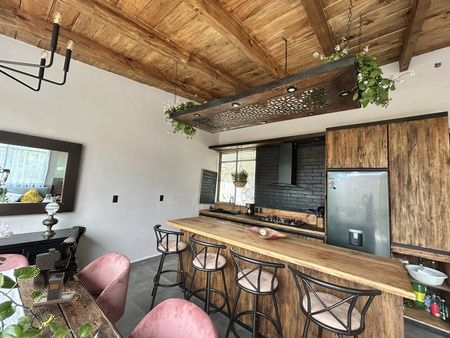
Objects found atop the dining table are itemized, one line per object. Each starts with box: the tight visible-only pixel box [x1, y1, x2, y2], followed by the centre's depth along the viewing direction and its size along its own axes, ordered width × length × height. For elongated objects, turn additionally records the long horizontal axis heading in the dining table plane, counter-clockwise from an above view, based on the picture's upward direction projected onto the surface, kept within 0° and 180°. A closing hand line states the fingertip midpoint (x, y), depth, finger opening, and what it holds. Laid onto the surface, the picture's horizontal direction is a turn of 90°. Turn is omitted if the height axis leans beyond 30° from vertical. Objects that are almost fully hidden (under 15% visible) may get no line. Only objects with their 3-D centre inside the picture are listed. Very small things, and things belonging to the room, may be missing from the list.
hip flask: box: [32, 248, 64, 284], centre depth 142 cm, size 16×4×20 cm, turn 137°
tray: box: [33, 290, 76, 307], centre depth 118 cm, size 9×17×2 cm, turn 113°
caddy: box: [46, 273, 64, 301], centre depth 118 cm, size 5×6×12 cm
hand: (55, 286), depth 117 cm, fingers open, 9 cm apart
